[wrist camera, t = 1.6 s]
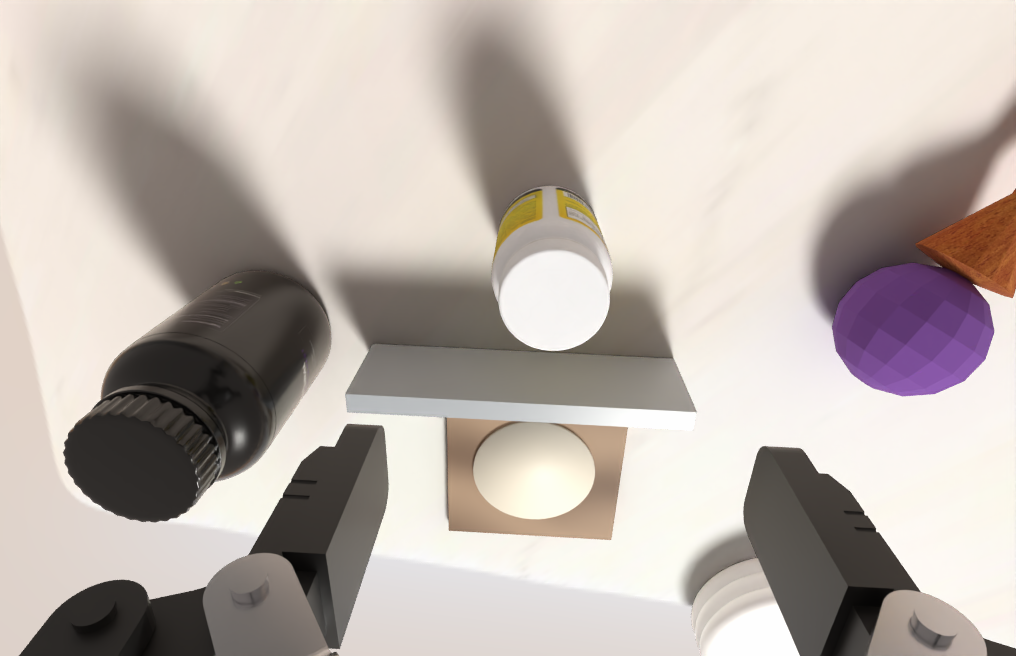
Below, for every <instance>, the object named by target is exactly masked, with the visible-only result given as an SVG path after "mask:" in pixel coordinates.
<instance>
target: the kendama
mask: <svg viewBox="0 0 1016 656" xmlns="http://www.w3.org/2000/svg"><path fill="white" fill-rule="evenodd" d="M915 245H916V247H917V248H918V249H920V250H921V251H922V252H923V253H925V254H926V255H927V256H928V257H930V258H931V259H932V260H934V261H935V262H936V263H938V264H939V265H940V266H942V267H936V266H930V265H924V264H918V263H908V264H902V265H896V266H890V267H884V268H881V269H879V270H877V271H875V272H873V273H871V274H870V275H868V276H866V277H864V278H862V279H861V280H859V281H857V282H856V283H855V284H854V285H853V286H852V287H851V289H850V290H849V291H848V292H847V293H846V295H845V296H844V297H843V298H842V299H841V301H840V302H839V304H838V307H837V311H836V314H835V318H834V321H833V325H832V330H833V336H834V341H835V347H836V352H837V353H838V354H839V356H840V357H841V359H842V360H843V362H844V363H845V365H846V366H847V368H848V369H849V371H850V372H851V373H852V374H853V375H854V376H855V377H857V378H858V379H859V380H861V381H862V382H864V383H865V384H867V385H868V386H870V387H872V388H874V389H878V390H881V391H885V392H889V393H893V394H896V395H900V396H913V395H927V394H936V393H938V392H940V391H943V390H945V389H947V388H949V387H952V386H954V385H956V384H959V383H961V382H963V381H965V380H966V379H967V378H968V377H969V376H970V375H971V374H972V373H973V372H974V370H975V369H976V368H977V367H978V366H979V365H980V364H981V363H982V362H983V361H984V360H985V359H986V356H987V353H988V350H989V347H990V344H991V341H992V338H993V335H994V327H993V322H992V317H991V312H990V306H989V304H988V303H987V301H986V300H985V299H984V298H983V296H982V295H981V294H980V293H979V291H978V290H977V289H976V288H975V286H974V285H977V286H980V287H982V288H985V289H987V290H990V291H993V292H995V293H998V294H1000V295H1003V296H1006V297H1010V298H1013V296H1014V293H1015V289H1016V189H1015V190H1014V192H1013V193H1012V194H1010V195H1008V196H1006V197H1005V198H1003V199H1001V200H999V201H997V202H995V203H993V204H991V205H989V206H987V207H985V208H983V209H981V210H979V211H977V212H976V213H974V214H972V215H970V216H968V217H966V218H964V219H962V220H960V221H958V222H956V223H954V224H952V225H950V226H948V227H947V228H945V229H943V230H941V231H939V232H937V233H935V234H933V235H931V236H929V237H927V238H925V239H923V240H921V241H920V242H918V243H916V244H915ZM973 284H974V285H973Z"/></svg>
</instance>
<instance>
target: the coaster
mask: <svg viewBox="0 0 1016 656" xmlns="http://www.w3.org/2000/svg"><path fill="white" fill-rule="evenodd" d="M691 622H692V627H693V631H694V633H695V637H696V642H697V646H698V648H699V650H700V656H800V655H799V653H798V651H797V648H796V646H795V644H794V641H793V639H792V637H791V634H790V632H789V630H788V627H787V625H786V623H785V620H784V618H783V616H782V613H781V611H780V609H779V606H778V604H777V602H776V599H775V597H774V595H773V592H772V590H771V588H770V586H769V583H768V581H767V579H766V576H765V574H764V572H763V569H762V567H761V565H760V562H759V560H758V558H754V559H750V560H746V561H743V562H740V563H737V564H734V565H732V566H730V567H728V568H726V569H724V570H723V571H721V572H719V573H718V574H716V575H715V576H714V577H712V578H711V579H710V580H709V581H708V582H707V583H706V584H705V585H704V586H703V587H702V588H701V590H700V591H699V592H698V594H697V596H696V598H695V600H694V603H693V606H692V613H691Z"/></svg>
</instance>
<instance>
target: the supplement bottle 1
mask: <svg viewBox="0 0 1016 656" xmlns="http://www.w3.org/2000/svg"><path fill="white" fill-rule="evenodd" d="M330 348H331V330H330V325H329V321H328V319H327V316H326V314H325V312H324V310H323V308H322V307H321V305H320V304H319V302H318V301H317V300H316V298H315V297H314V296H313V295H312V294H311V293H310V292H309V291H308V290H307V289H305V288H304V287H303V286H302V285H300V284H299V283H297V282H295V281H294V280H292V279H290V278H288V277H285V276H283V275H280V274H277V273H273V272H269V271H260V270H252V271H244V272H239V273H236V274H233V275H231V276H229V277H226V278H225V279H223V280H221V281H220V282H218V283H217V284H215V285H214V286H212V287H211V288H209V289H208V290H206V291H205V292H204V293H202V294H201V295H199V296H198V297H197V298H195V299H194V300H192V301H191V302H190V303H188V304H187V305H185V306H184V307H183V308H181V309H180V310H178V311H177V312H176V313H174V314H173V315H172V316H170V317H169V318H167V319H166V320H165V321H163V322H162V323H160V324H159V325H158V326H156V327H155V328H153V329H152V330H151V331H149V332H148V333H146V334H145V335H144V336H142V337H141V338H139V339H138V340H137V341H135V342H134V343H132V344H131V345H130V346H129V347H127V348H126V349H125V350H124V351H123V352H121V353H120V354H119V355H118V356H117V357H116V358H115V360H114V361H113V362H112V364H111V365H110V367H109V369H108V370H107V372H106V375H105V378H104V381H103V385H102V390H101V400H100V401H99V402H98V403H97V404H96V405H95V406H94V408H93V409H92V410H91V412H89V413H88V414H87V415H86V416H84V417H83V418H82V419H81V420H79V421H78V422H77V423H76V424H75V426H74V428H73V429H71V430H70V432H69V433H68V439H67V440H66V441H65V442H64V444H65V450H64V452H63V454H64V456H65V465H66V466H67V468H68V474H69V475H70V476H71V477H72V478H73V480H74V483H75V484H76V485H77V486H78V487H79V488H80V489H81V490H82V492H83V494H85V495H86V496H88V497H90V499H91V500H92V501H93V502H94V503H96V504H98V505H100V506H101V507H102V508H104V509H105V510H108V511H111V512H113V513H114V514H116V515H117V516H123V517H125V518H127V519H130V520H138V521H141V522H146V521H150V522H158V521H168V520H169V519H170V518H178V517H179V516H180V515H181V514H183V513H186V512H187V511H189V509H190V508H191V507H192V506H193V505H195V504H196V503H197V502H198V500H199V499H200V498H201V496H202V495H203V494H204V492H205V491H206V490H207V489H208V488H209V487H210V486H211V485H212V484H213V483H214V482H217V481H221V480H225V479H229V478H231V477H234V476H236V475H238V474H240V473H242V472H244V471H246V470H247V469H249V468H250V467H252V466H253V465H254V464H255V463H256V462H257V461H258V460H259V459H260V458H261V457H262V456H263V454H264V453H265V452H266V450H267V449H268V448H269V446H270V445H271V443H272V442H273V440H274V439H275V438H276V436H277V435H278V433H279V432H280V430H281V429H282V427H283V426H284V424H285V423H286V421H287V420H288V418H289V417H290V415H291V414H292V412H293V411H294V409H295V408H296V407H297V405H298V404H299V402H300V401H301V399H302V398H303V396H304V395H305V393H306V392H307V390H308V389H309V387H310V386H311V384H312V383H313V381H314V380H315V378H316V377H317V376H318V374H319V372H320V371H321V369H322V368H323V366H324V364H325V362H326V360H327V358H328V356H329V352H330Z"/></svg>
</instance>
